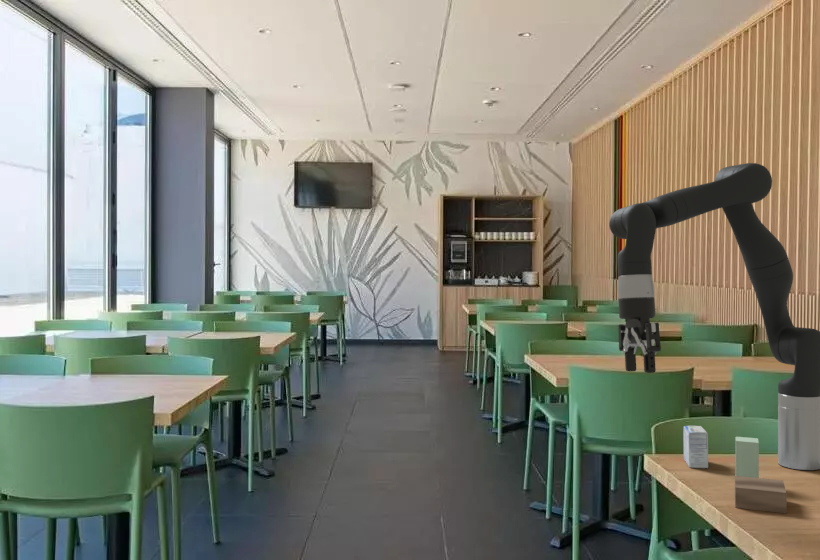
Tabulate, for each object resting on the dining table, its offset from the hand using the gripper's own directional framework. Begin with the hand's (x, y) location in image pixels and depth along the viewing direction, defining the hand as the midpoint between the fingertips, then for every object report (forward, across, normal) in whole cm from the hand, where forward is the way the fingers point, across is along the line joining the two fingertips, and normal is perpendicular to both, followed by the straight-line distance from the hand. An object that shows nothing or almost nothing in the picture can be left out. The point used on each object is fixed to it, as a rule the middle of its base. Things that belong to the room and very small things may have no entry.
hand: (640, 371), depth 155 cm
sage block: (+26, +1, -24) cm, 35 cm away
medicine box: (+24, +19, -23) cm, 38 cm away
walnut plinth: (+27, -11, -19) cm, 34 cm away
